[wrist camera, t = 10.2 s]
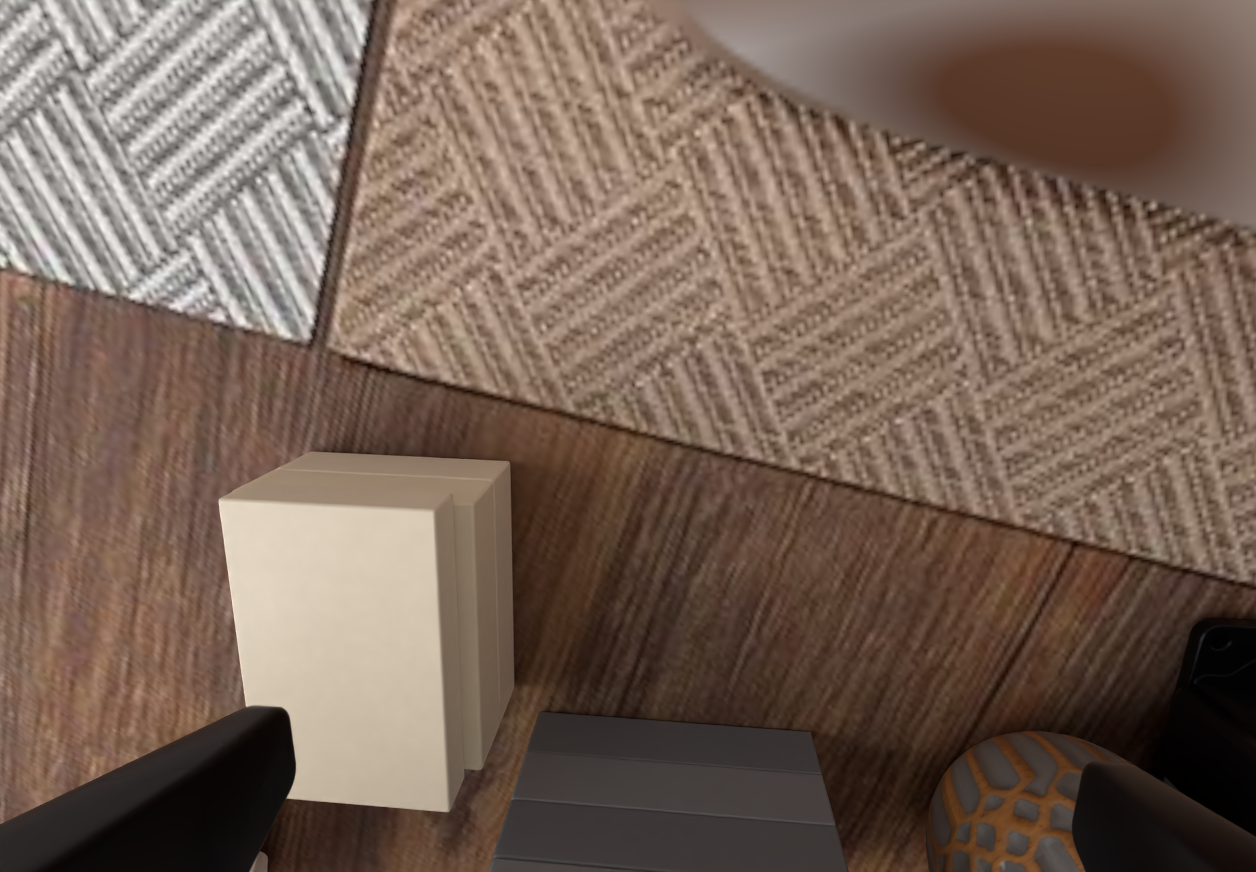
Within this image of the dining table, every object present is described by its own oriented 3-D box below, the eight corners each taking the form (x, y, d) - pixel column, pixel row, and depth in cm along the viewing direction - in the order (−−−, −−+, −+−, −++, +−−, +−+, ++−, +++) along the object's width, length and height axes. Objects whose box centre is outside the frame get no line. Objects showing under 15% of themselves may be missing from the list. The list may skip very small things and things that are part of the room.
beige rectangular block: (511, 460, 19) (473, 503, 16) (515, 688, 21) (482, 771, 18) (309, 450, 20) (229, 490, 16) (331, 675, 22) (263, 754, 18)
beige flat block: (465, 778, 18) (450, 813, 17) (283, 763, 18) (256, 797, 17) (453, 492, 16) (435, 510, 15) (249, 481, 16) (216, 498, 15)
